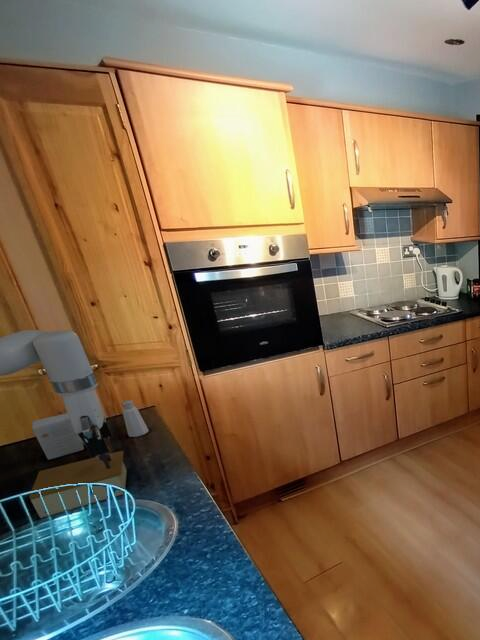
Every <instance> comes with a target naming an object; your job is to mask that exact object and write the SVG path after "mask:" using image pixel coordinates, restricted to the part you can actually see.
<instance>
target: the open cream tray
mask: <svg viewBox="0 0 480 640" xmlns="http://www.w3.org/2000/svg"><path fill="white" fill-rule="evenodd" d="M126 481H127V468H126V465H125V463H124V462H123V464H122V473H121V475H120V476H116V477H112V478H109V479H105V480H101V481H98V482H94V483H107V484H112V485H115V486H119V487H122V488H124V489H125V490H126V483H127V482H126ZM76 490H77V491H78V494H79V496H80V498H81V504H80V503H79V500H78V497H77V493H76ZM92 490H93V493H92V495H91V504H94V503H97V502H96V499H95V498H94V495H96V496H97V497H98V500H99V501H98V502H102V501H104V500H108V499H109V498H108V496H107V488H106V487H103V486H93V487H92ZM59 494H60V495H61V497H62V499H63V502H64V504H65V505H66V511H69V510H74V509H76V508H81V507H83V506H88V505H89V504H88V486H86V485H83V486H79V487H75V488H72V489H68V490H64V491H61V492H59ZM121 495H124V493H123V492H122V491H119V490H116V491H115V497H119V496H121ZM42 497H43V500H44V502H45V505H46V507H47V509H48V511H49V515H48V514H47V513H45V509H44V506H43V504H42V501H41V498H40V497H39V498H35V499H30V502H31V504H32V505H33V507H34V510H35V511H36V513H37V515H38V517H39V518H40V519H43V518H45V517H50V516H53V515H56V514H60V513H63V512H66V511H65V510H64V508H63V507H62V504H61V501H60V498H59V495H58V492H57V493H53V494H50V495H46V496H42Z"/></svg>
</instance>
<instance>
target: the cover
mask: <svg viewBox="0 0 480 640" xmlns="http://www.w3.org/2000/svg"><path fill="white" fill-rule="evenodd" d="M107 448H108V450H109V452H110V448H109V447H108V446H107ZM109 452H108V453H105V454H101V455H99V457H95V458H91V459H89V458H87V459H83V460H79V461H75V462H70V463H67V464H63V465H59V466H55V467H51V468H47V469H43V470H39V471H38V474H37V476H36V478H35V481H34V482H33V486H32V489H31V491H34V490H39V489H43V488H48V487H54V486H60V485H66V484H78V483H94V482H98V481H101V480H105V479H109V478H112V477H116V476H120V475H121V473H122V464H123V463H124V453H125V452H124V451H123V450H120V451H117V452H115V453H111V454H109ZM80 486H83V485H80ZM75 487H76V486H68V487H61V488H59V489H51V490H47V491H43V492H41V495H42V496H46V495H50V494H53V493H57V492H61V491H64V490H68V489H72V488H75ZM77 487H79V486H77ZM39 497H40V494H39V493H35V494H31V493H30V494H29V496H28V498H29V500H31V499H35V498H39Z"/></svg>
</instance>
